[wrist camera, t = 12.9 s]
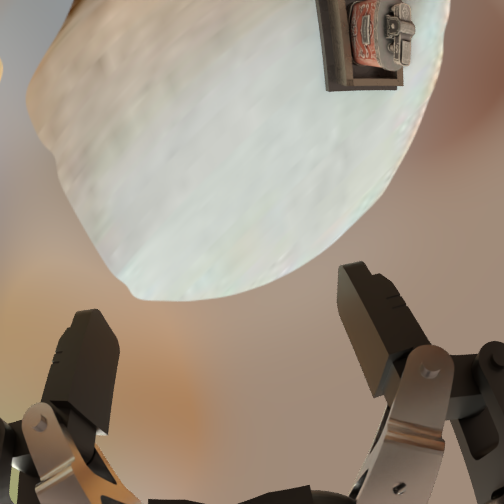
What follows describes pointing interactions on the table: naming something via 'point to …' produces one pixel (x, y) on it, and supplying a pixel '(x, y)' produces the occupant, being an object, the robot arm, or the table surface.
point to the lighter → (380, 33)
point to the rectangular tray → (347, 54)
